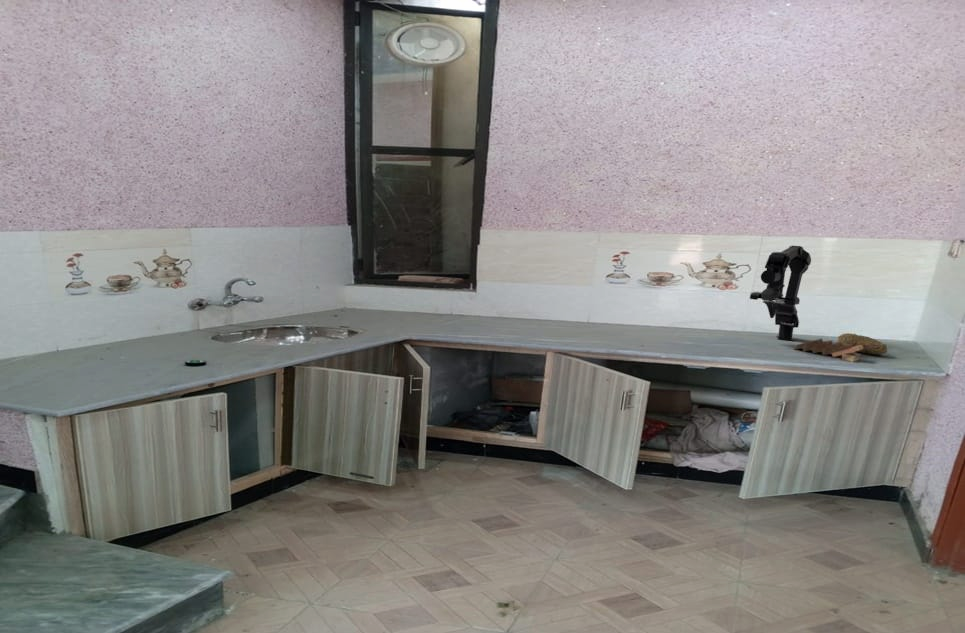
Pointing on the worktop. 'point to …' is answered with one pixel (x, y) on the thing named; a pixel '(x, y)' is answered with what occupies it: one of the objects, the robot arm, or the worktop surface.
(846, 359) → the stop block
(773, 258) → the robot arm
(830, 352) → the domino
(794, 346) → the brown rectangular block
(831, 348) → the domino
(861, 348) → the domino
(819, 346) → the domino
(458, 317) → the worktop surface
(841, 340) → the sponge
